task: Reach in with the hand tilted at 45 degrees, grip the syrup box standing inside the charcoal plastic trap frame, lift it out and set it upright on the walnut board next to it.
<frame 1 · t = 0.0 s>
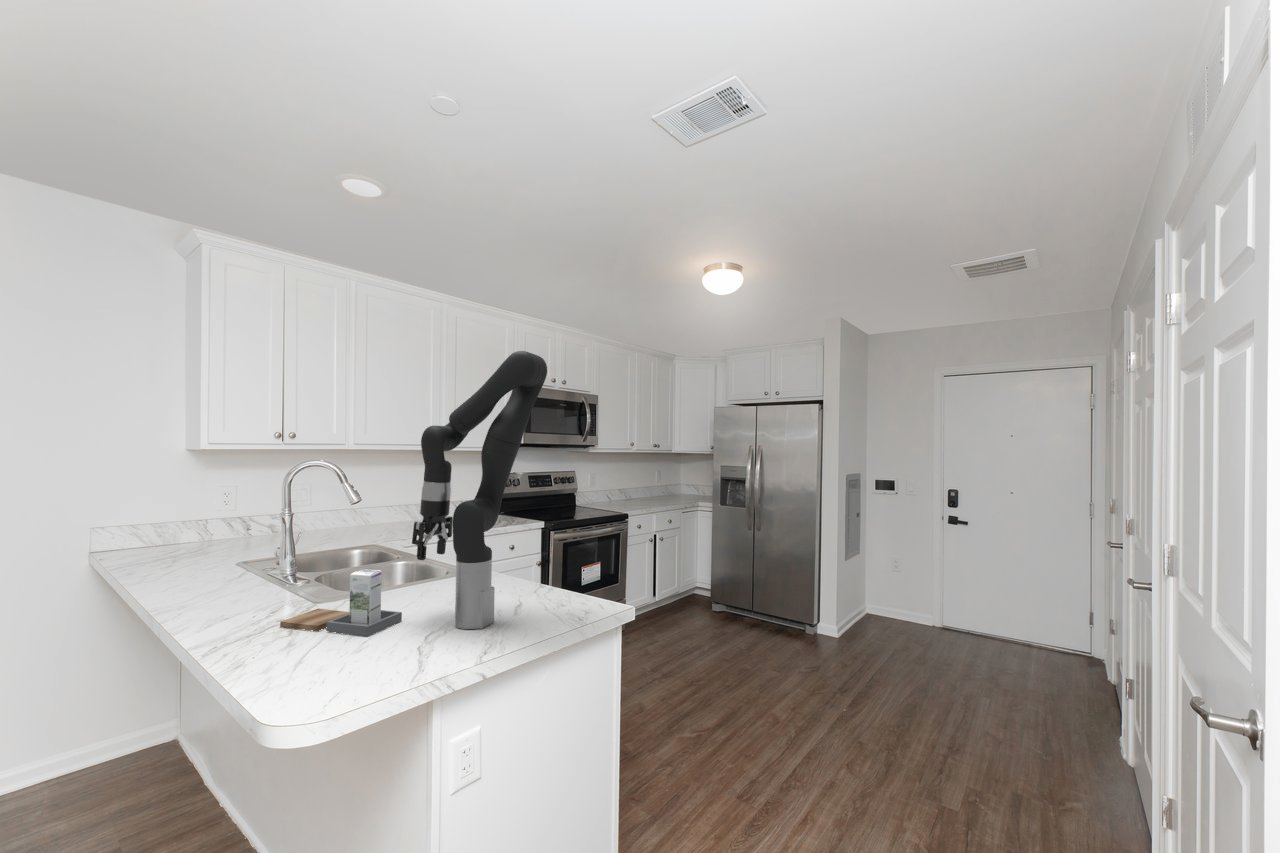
hand: (431, 556, 154), 17 cm above the counter, tool pointing down, fingers open, 8 cm apart
walnut board: (317, 622, 151), on the counter
trap frame: (365, 626, 148), on the counter
syrup box: (365, 627, 148), resting in trap frame
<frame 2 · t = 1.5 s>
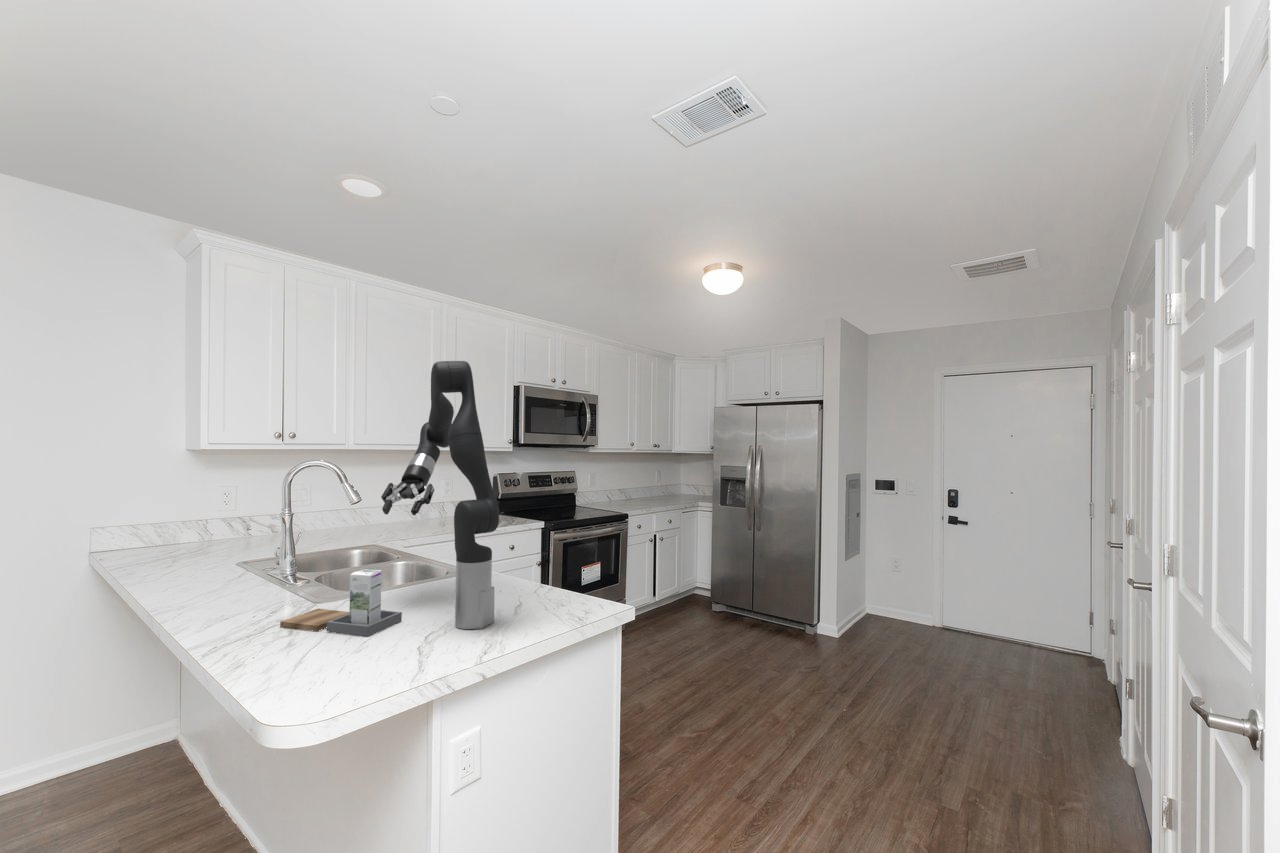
hand: (399, 513, 163), 28 cm above the counter, tool tilted 45°, fingers open, 8 cm apart
nothing on the counter moved.
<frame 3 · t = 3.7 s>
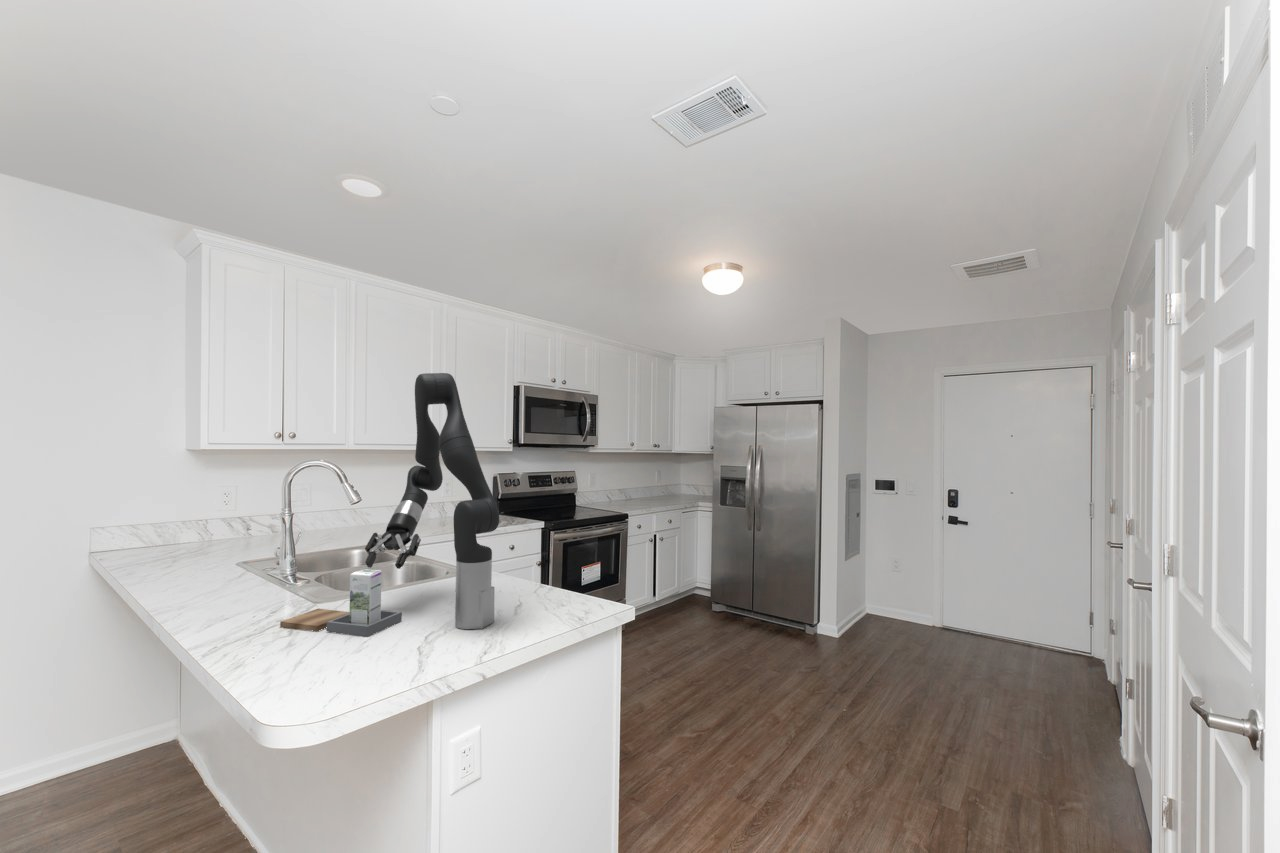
hand: (382, 566, 156), 14 cm above the counter, tool tilted 45°, fingers open, 8 cm apart
nothing on the counter moved.
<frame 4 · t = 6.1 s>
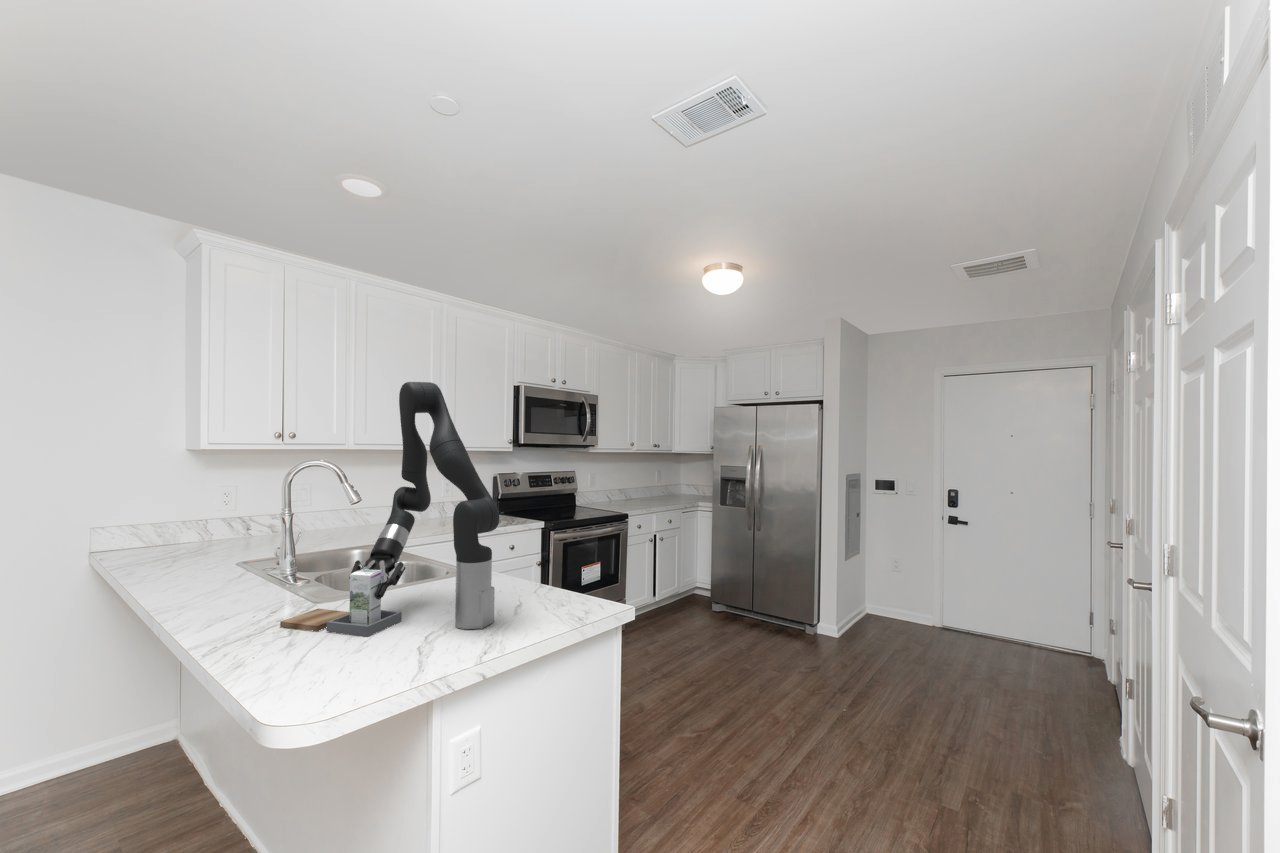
hand: (365, 597, 147), 8 cm above the counter, tool tilted 45°, fingers open, 6 cm apart
syrup box: (365, 627, 148), resting in trap frame, touching gripper
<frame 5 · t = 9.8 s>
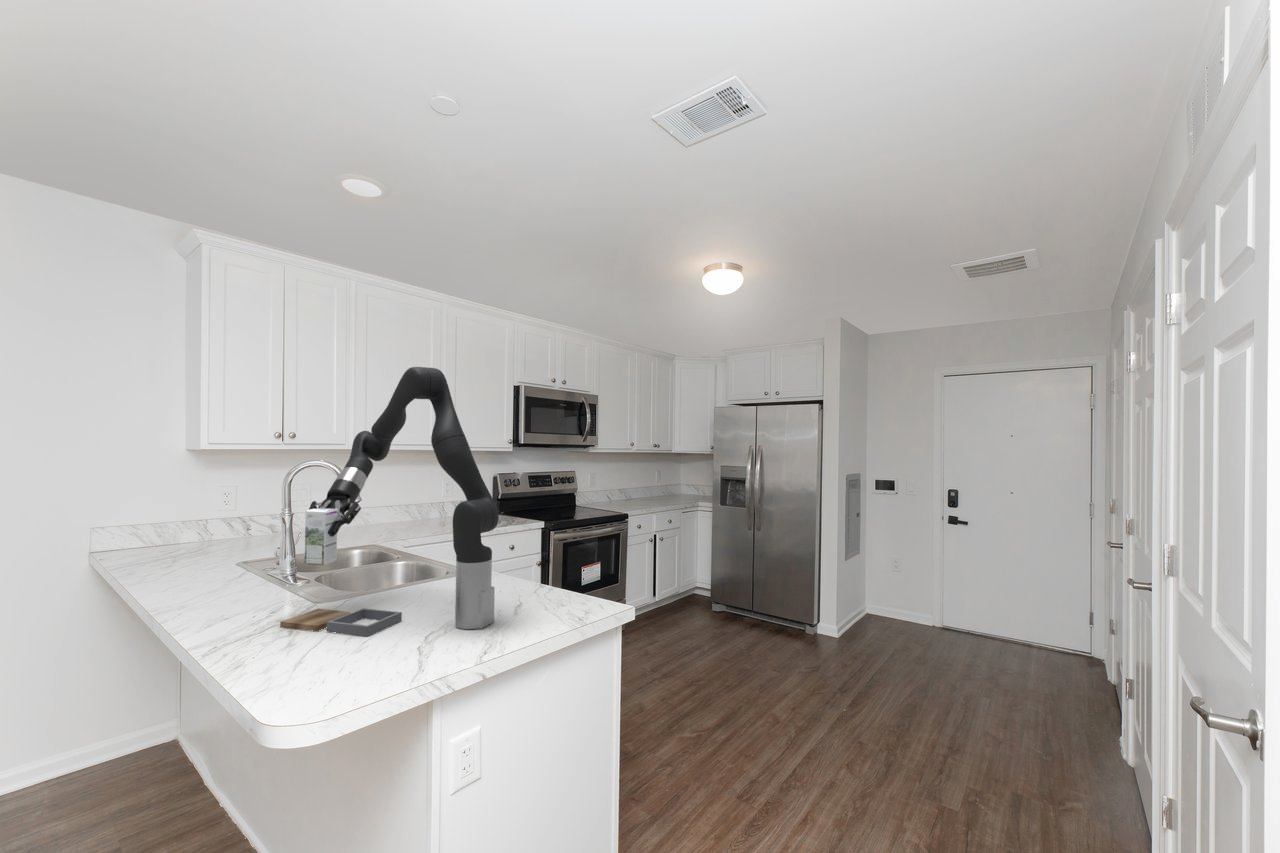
hand: (319, 534, 151), 24 cm above the counter, tool tilted 45°, fingers closed on syrup box, 5 cm apart
syrup box: (320, 563, 151), point 16 cm above the counter, touching gripper
when the fingers open (10 cm above the counter, at t = 13.1 s): syrup box stays where it is, resting on walnut board.
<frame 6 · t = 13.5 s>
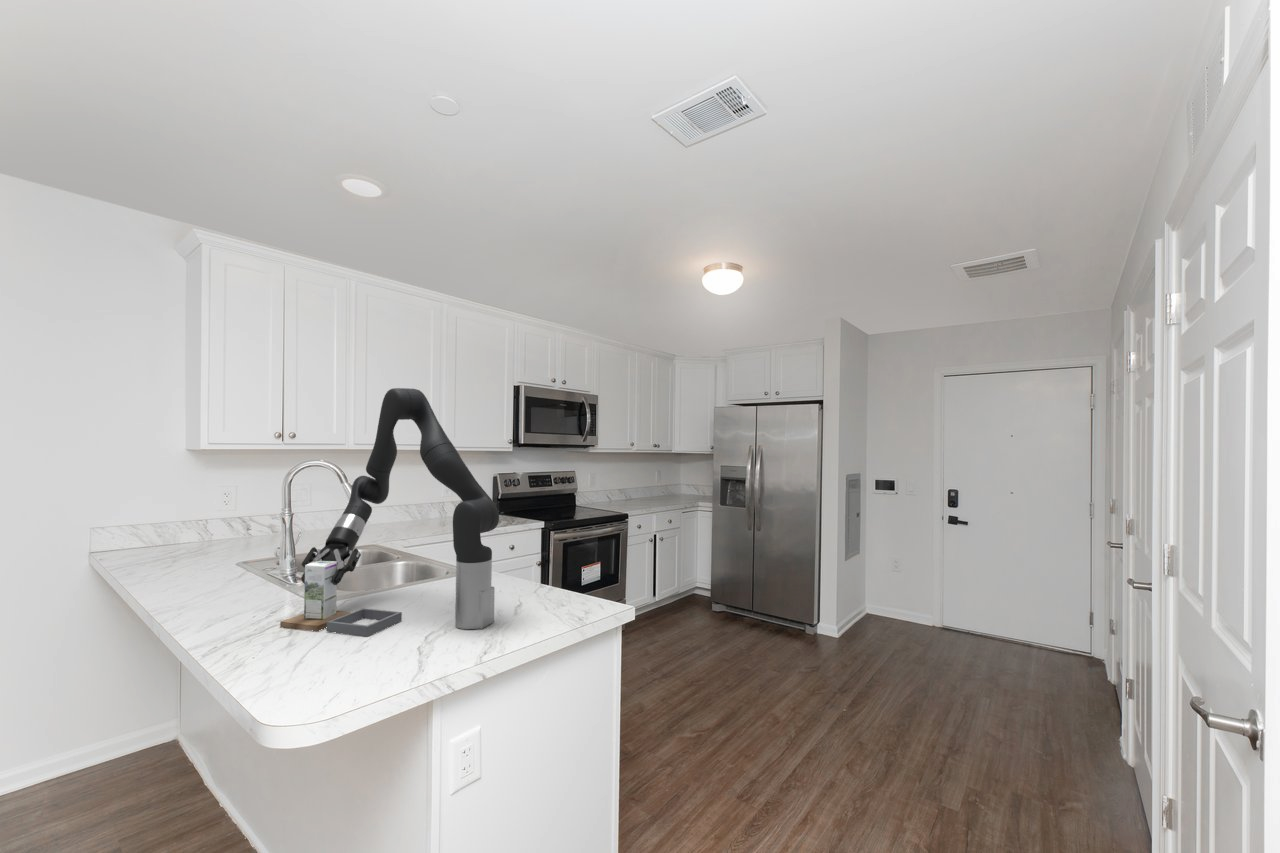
hand: (318, 582, 151), 11 cm above the counter, tool tilted 45°, fingers open, 8 cm apart
syrup box: (320, 617, 151), point 1 cm above the counter, touching walnut board
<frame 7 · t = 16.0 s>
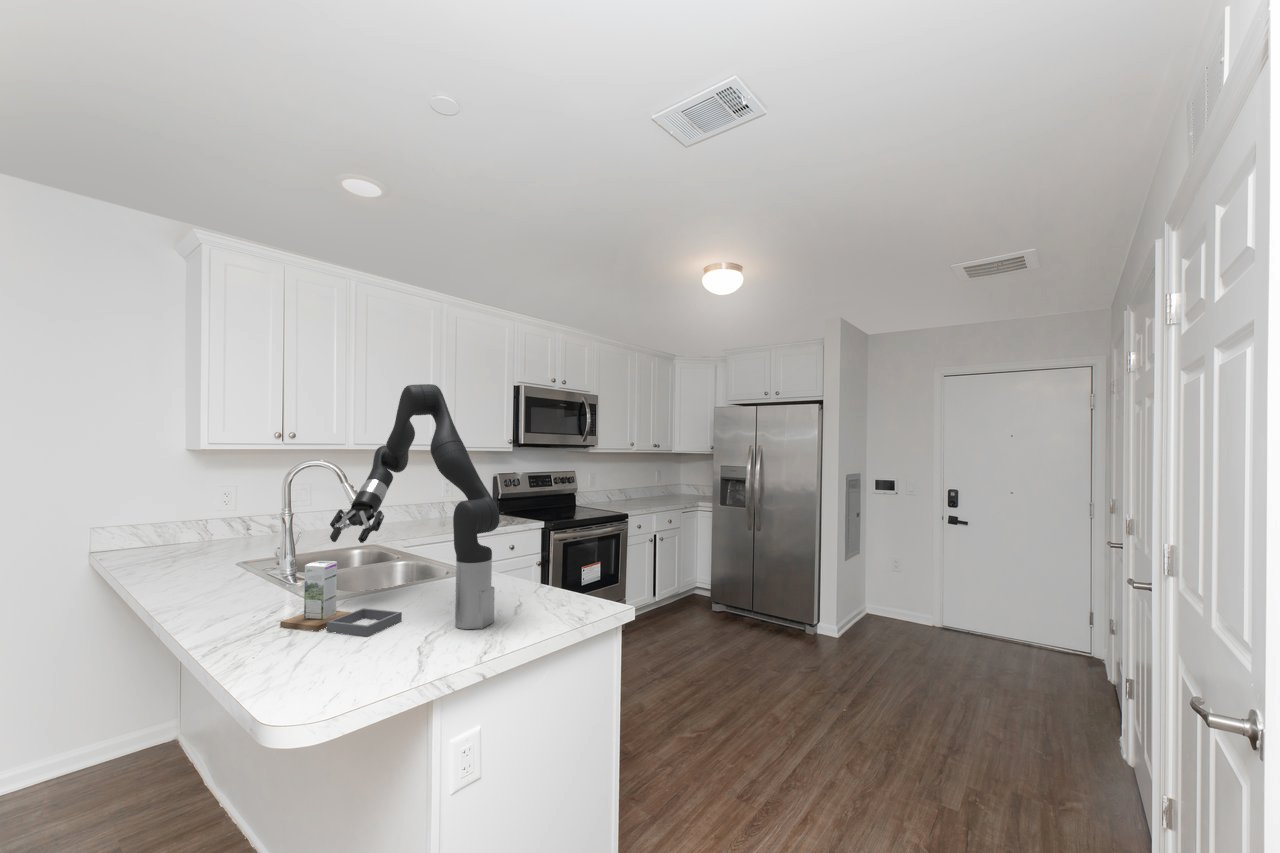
hand: (346, 540, 163), 20 cm above the counter, tool tilted 45°, fingers open, 8 cm apart
nothing on the counter moved.
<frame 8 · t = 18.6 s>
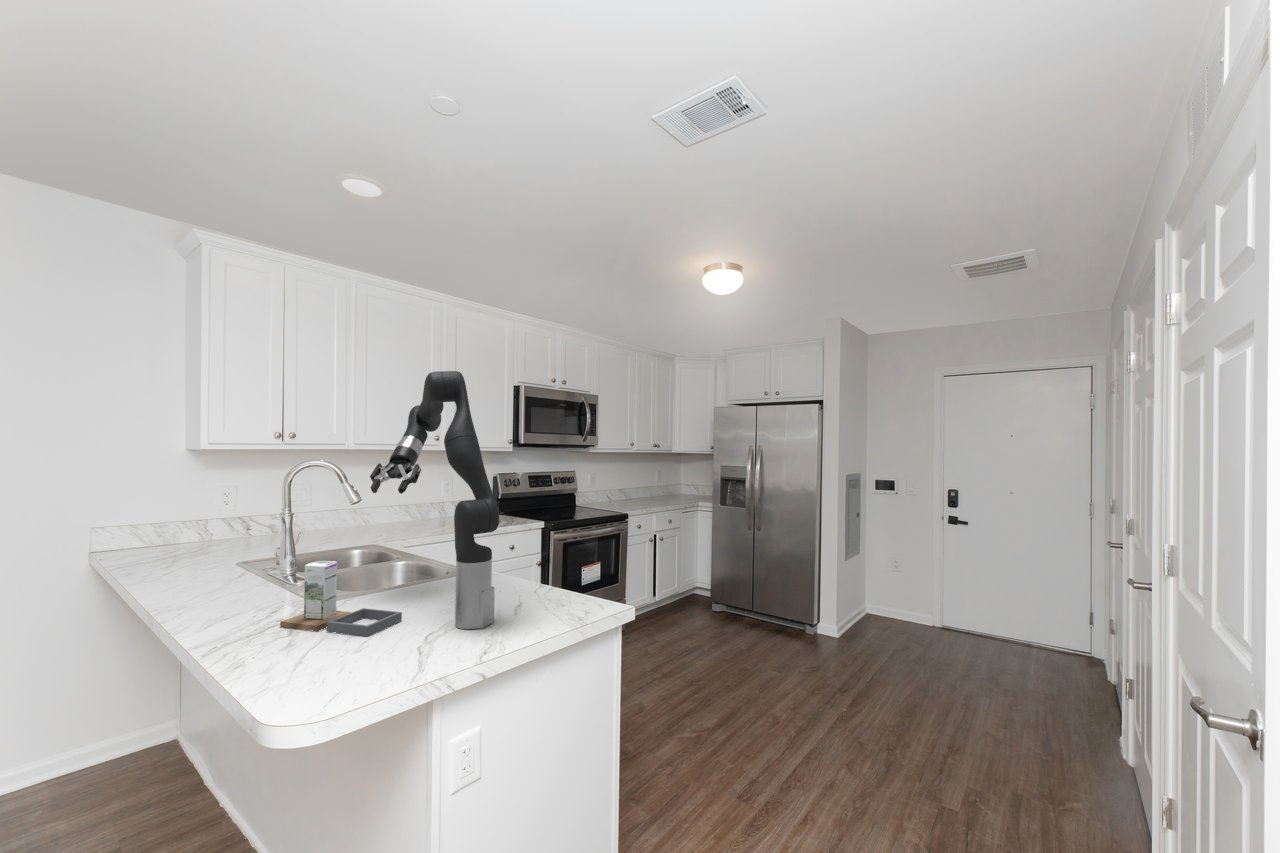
hand: (386, 491, 169), 34 cm above the counter, tool tilted 45°, fingers open, 8 cm apart
nothing on the counter moved.
at the end: syrup box inside the target area on the walnut board (0.6 cm from its centre), point 1.3 cm above the walnut board's base; syrup box tilted 0°; the gripper is holding nothing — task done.
